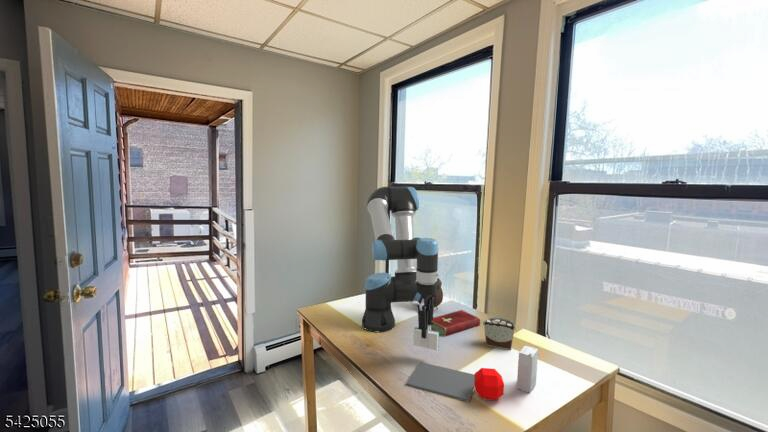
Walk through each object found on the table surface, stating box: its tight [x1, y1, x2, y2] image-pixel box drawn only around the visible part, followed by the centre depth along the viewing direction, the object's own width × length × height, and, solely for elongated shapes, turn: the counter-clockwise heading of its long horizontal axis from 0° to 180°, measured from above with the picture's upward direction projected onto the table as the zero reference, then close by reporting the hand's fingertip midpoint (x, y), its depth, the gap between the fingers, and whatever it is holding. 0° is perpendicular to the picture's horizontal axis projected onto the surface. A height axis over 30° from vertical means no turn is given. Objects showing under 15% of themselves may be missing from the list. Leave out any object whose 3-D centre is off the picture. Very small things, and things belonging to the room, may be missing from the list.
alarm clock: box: [417, 277, 444, 310], centre depth 169 cm, size 14×7×20 cm, turn 41°
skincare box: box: [516, 345, 539, 394], centre depth 104 cm, size 6×4×12 cm
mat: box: [405, 361, 475, 403], centre depth 108 cm, size 20×14×1 cm
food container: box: [482, 316, 517, 351], centre depth 132 cm, size 12×6×10 cm, turn 65°
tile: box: [412, 326, 440, 351], centre depth 121 cm, size 9×2×6 cm, turn 65°
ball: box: [474, 367, 505, 401], centre depth 100 cm, size 8×8×8 cm
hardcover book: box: [431, 309, 482, 337], centre depth 149 cm, size 12×21×4 cm, turn 121°
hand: (425, 343), depth 121 cm, fingers closed on tile, 2 cm apart
